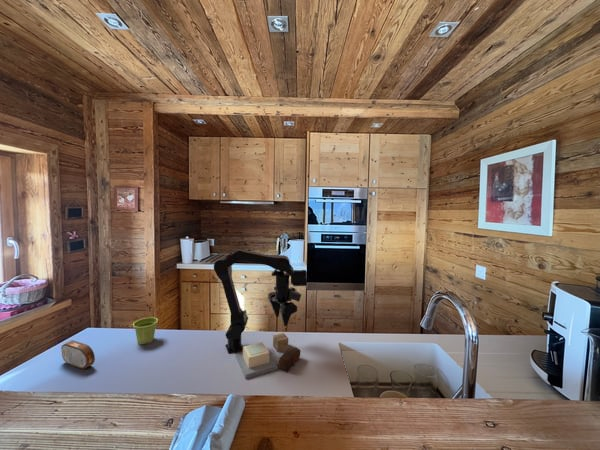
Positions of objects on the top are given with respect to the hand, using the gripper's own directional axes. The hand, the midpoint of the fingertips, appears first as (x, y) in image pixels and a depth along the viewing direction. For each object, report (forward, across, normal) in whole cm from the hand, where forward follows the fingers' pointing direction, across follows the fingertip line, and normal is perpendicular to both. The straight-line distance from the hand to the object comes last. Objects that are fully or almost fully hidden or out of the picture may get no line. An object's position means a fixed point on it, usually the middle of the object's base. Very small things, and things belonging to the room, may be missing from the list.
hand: (281, 321), depth 107 cm
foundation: (+12, -6, +13) cm, 19 cm away
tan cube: (+12, 0, 0) cm, 12 cm away
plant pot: (+12, +30, +52) cm, 61 cm away
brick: (+12, -12, +1) cm, 17 cm away
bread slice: (+13, +20, +73) cm, 77 cm away
